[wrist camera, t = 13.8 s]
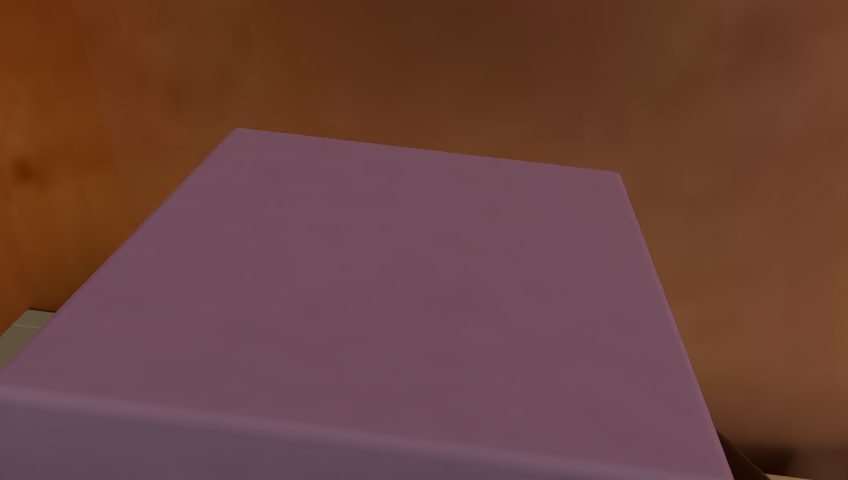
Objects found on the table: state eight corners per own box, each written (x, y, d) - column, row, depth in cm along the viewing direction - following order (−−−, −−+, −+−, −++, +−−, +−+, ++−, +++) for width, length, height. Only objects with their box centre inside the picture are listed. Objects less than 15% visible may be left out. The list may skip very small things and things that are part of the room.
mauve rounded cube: (621, 169, 9) (746, 490, 4) (556, 474, 10) (597, 910, 6) (232, 125, 9) (-30, 388, 4) (236, 431, 11) (54, 831, 6)
